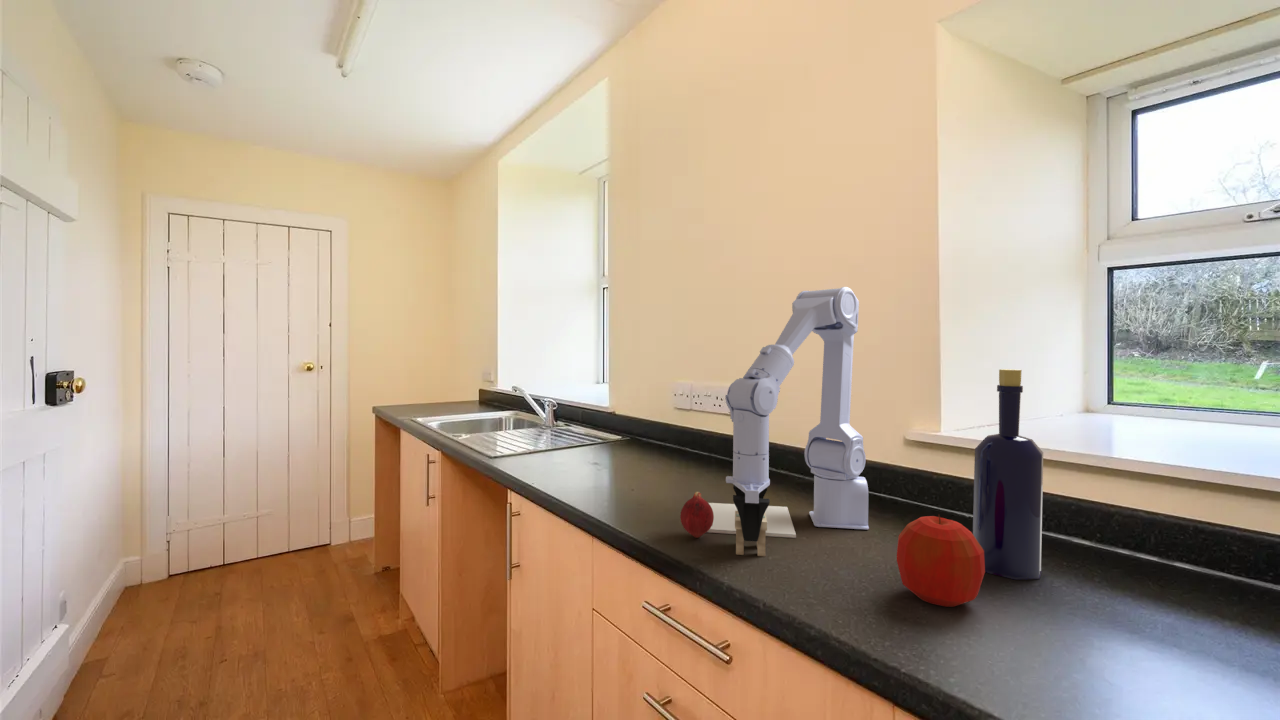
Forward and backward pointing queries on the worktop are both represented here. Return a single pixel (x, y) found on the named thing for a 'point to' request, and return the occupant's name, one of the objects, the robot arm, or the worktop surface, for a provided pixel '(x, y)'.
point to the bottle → (1009, 491)
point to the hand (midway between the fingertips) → (750, 534)
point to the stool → (741, 540)
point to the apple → (940, 561)
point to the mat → (775, 515)
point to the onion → (697, 516)
